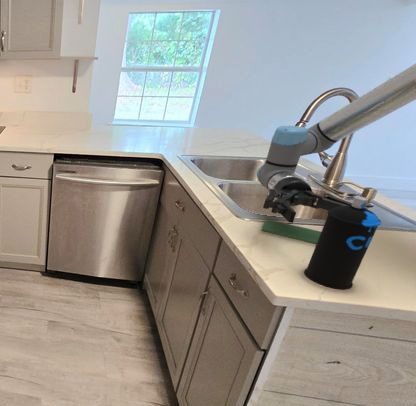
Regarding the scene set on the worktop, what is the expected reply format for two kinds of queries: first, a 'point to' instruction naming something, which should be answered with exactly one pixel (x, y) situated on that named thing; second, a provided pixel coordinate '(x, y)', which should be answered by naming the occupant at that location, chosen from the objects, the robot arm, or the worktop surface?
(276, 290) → the worktop surface
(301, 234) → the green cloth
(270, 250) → the worktop surface
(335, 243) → the aerosol can
